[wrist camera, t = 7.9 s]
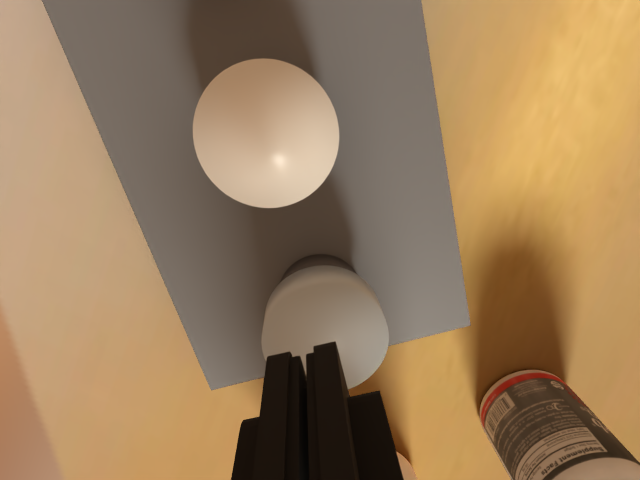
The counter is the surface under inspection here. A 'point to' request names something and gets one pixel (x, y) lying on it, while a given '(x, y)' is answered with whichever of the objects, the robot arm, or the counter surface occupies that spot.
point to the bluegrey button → (327, 319)
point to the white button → (265, 133)
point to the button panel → (288, 221)
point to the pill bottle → (550, 432)
